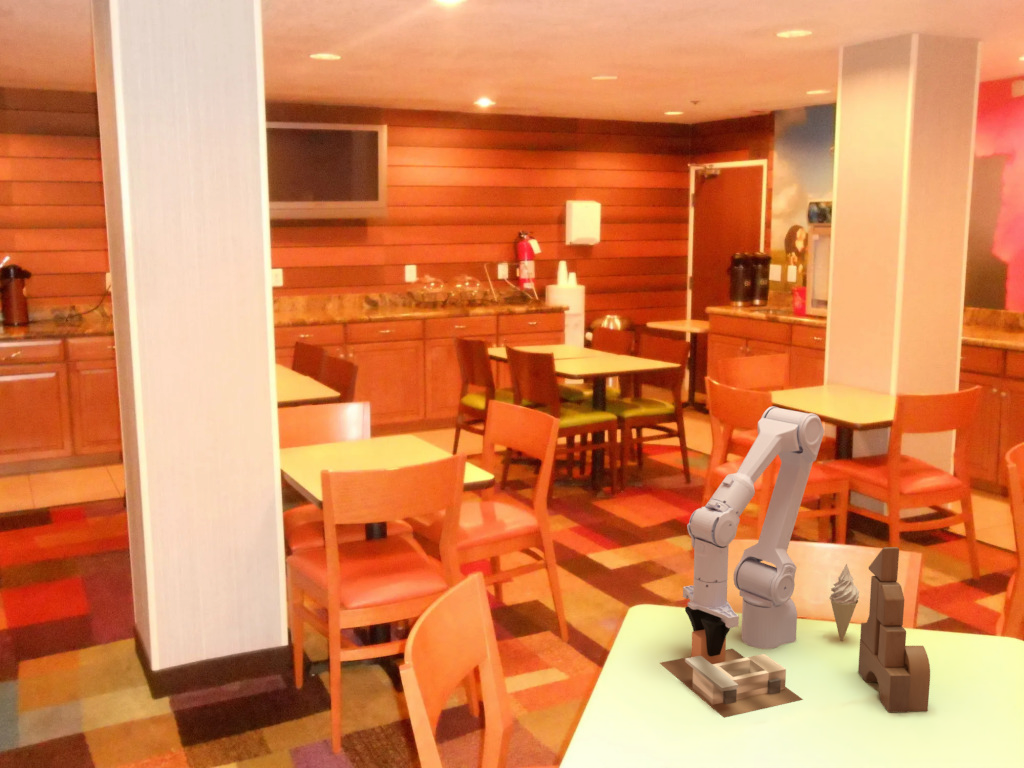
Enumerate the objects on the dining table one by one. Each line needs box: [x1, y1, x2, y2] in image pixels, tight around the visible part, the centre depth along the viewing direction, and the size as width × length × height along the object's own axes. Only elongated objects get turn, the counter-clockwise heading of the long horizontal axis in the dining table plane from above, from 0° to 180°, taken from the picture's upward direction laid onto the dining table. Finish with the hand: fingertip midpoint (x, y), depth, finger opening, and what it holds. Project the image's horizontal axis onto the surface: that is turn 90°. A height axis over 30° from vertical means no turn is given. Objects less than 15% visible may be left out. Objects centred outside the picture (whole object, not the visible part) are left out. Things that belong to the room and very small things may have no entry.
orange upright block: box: [690, 629, 727, 664], centre depth 167 cm, size 5×3×6 cm, turn 111°
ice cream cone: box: [829, 563, 860, 642], centre depth 176 cm, size 5×5×15 cm
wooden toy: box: [857, 546, 931, 713], centre depth 157 cm, size 15×7×25 cm, turn 0°
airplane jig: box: [659, 648, 804, 718], centre depth 160 cm, size 15×20×5 cm
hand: (708, 650), depth 167 cm, fingers closed on orange upright block, 3 cm apart
